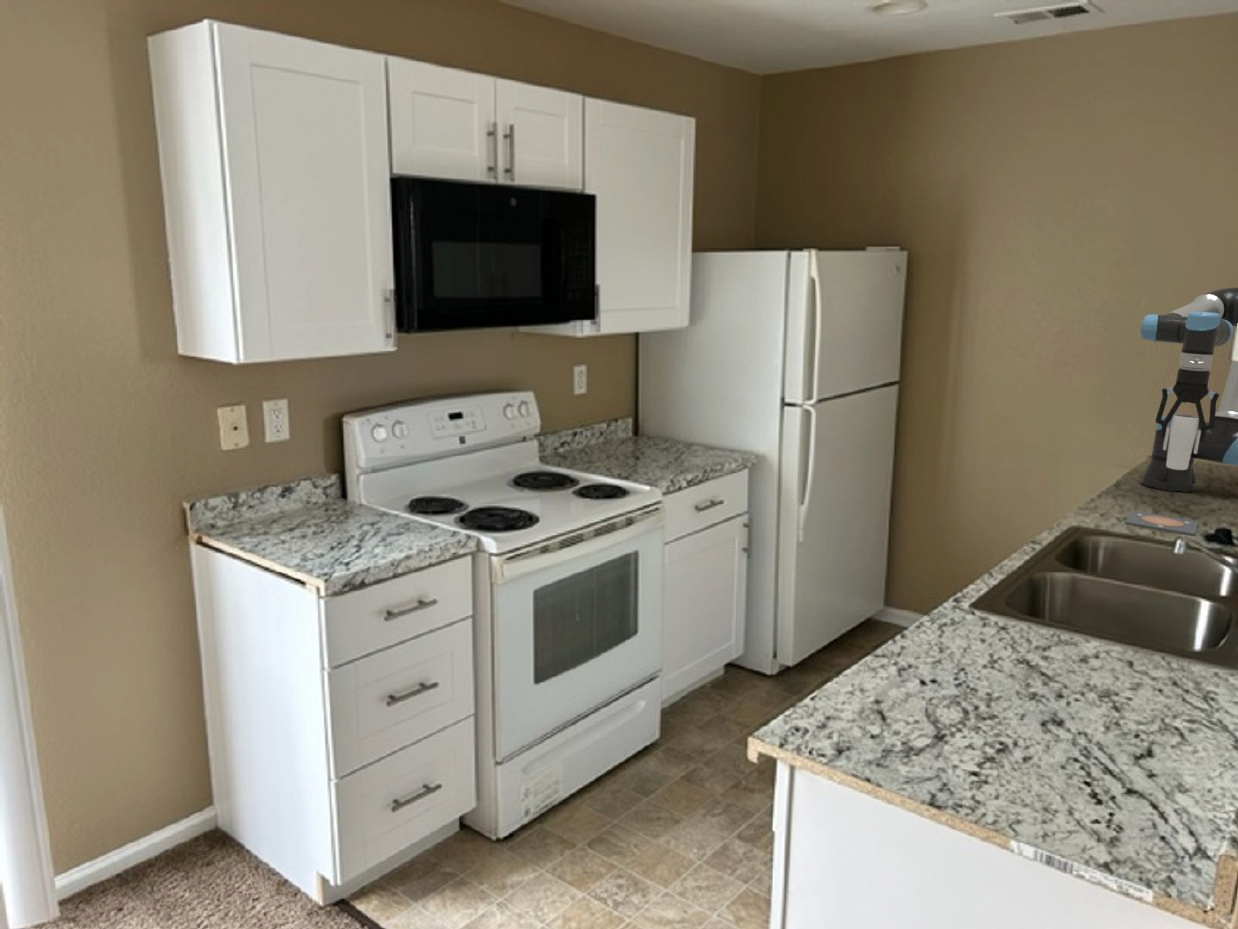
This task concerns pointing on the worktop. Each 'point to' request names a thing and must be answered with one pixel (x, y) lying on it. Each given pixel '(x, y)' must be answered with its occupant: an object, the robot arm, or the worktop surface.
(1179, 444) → the drinking glass
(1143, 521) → the coaster mat
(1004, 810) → the worktop surface
